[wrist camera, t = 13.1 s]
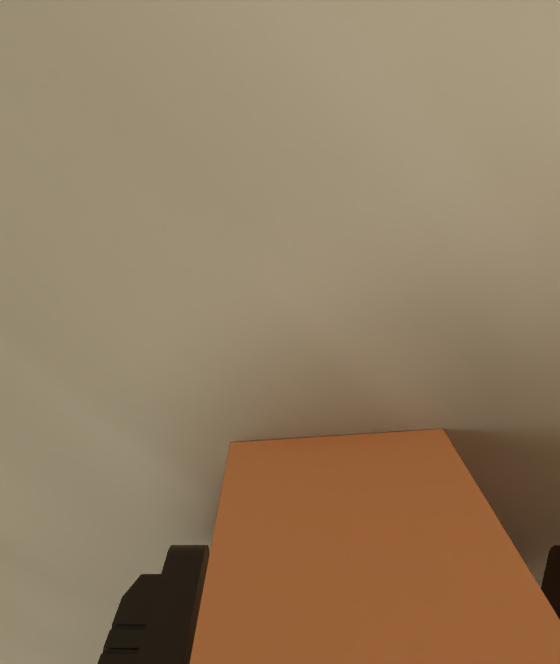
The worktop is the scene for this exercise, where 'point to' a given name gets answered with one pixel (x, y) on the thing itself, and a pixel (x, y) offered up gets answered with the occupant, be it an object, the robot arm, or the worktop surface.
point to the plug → (365, 560)
